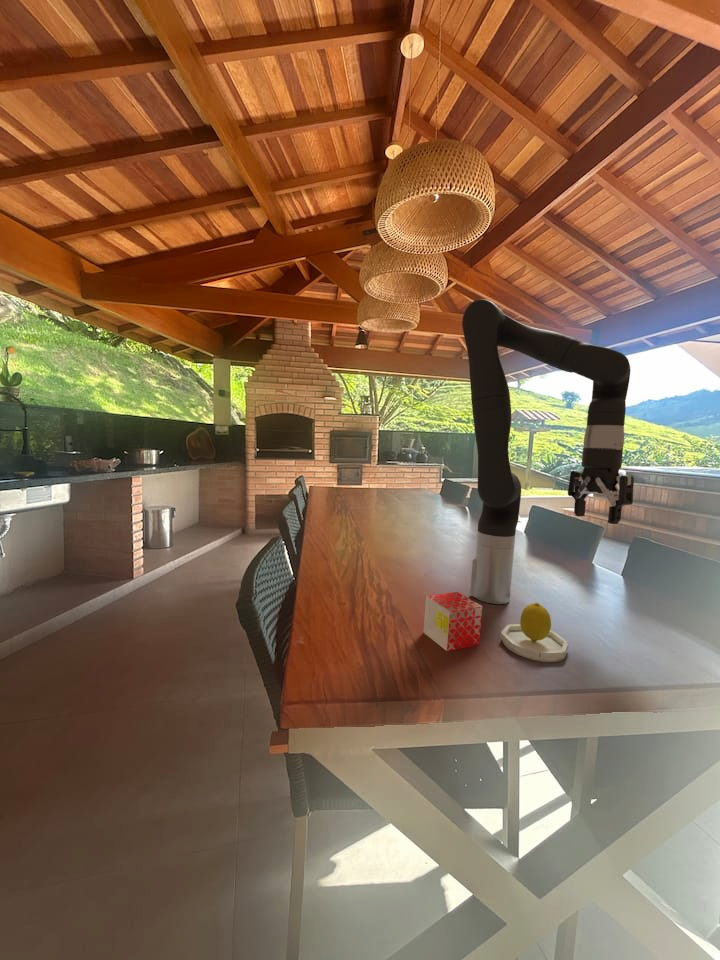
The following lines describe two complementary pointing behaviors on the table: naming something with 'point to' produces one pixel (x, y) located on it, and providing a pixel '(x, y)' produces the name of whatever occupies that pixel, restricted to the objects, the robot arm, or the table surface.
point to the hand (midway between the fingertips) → (595, 519)
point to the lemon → (535, 622)
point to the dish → (534, 645)
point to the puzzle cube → (452, 620)
